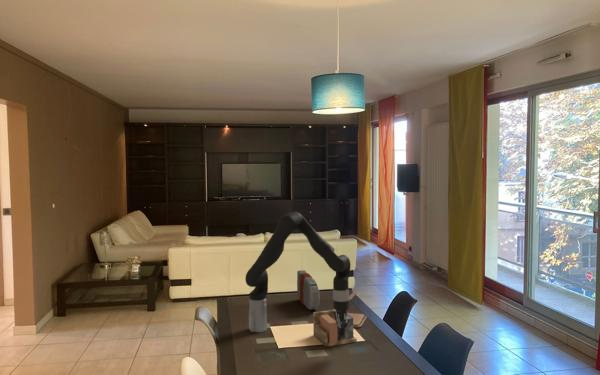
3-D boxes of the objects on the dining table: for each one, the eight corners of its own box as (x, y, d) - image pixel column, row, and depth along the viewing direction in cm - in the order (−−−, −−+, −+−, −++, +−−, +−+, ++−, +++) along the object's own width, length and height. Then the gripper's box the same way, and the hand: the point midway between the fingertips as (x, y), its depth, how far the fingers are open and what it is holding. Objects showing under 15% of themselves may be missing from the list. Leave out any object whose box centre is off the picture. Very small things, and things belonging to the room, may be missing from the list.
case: (333, 313, 269) (332, 287, 268) (368, 316, 262) (367, 289, 261) (323, 325, 250) (322, 296, 249) (360, 329, 242) (360, 300, 241)
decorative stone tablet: (296, 269, 294) (310, 285, 266) (305, 268, 296) (321, 284, 268) (295, 298, 297) (310, 316, 269) (305, 297, 299) (320, 315, 271)
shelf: (325, 346, 219) (324, 322, 218) (313, 335, 234) (313, 312, 234) (356, 341, 225) (356, 318, 224) (343, 330, 240) (343, 308, 239)
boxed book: (329, 343, 219) (329, 323, 219) (320, 334, 230) (320, 315, 230) (337, 342, 220) (337, 322, 220) (327, 333, 232) (327, 314, 231)
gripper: (354, 301, 205) (355, 339, 205) (342, 294, 217) (343, 329, 218) (339, 303, 202) (340, 341, 203) (328, 295, 215) (328, 331, 215)
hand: (341, 335), depth 210 cm, fingers closed
